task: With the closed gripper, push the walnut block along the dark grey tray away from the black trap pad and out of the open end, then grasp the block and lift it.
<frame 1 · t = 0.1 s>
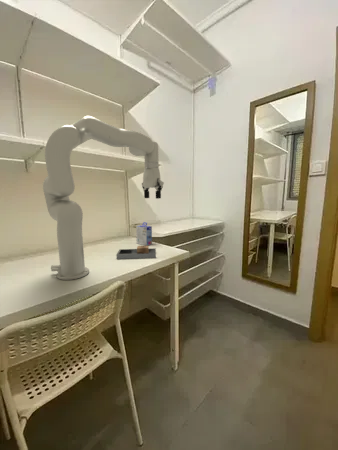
hand: (152, 198, 116), 31 cm above the table, tool pointing down, fingers open, 9 cm apart
dark grey tray: (137, 255, 116), on the table
walnut block: (143, 255, 116), resting in dark grey tray
ink cartridge box: (144, 244, 141), on the table
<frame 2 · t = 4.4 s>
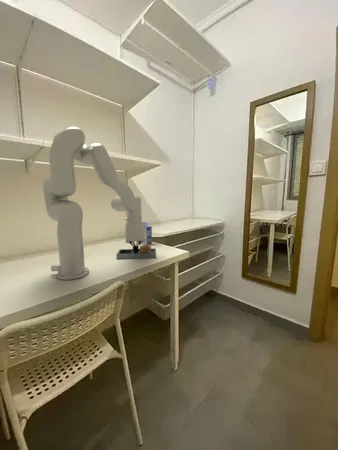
hand: (135, 252, 115), 2 cm above the table, tool pointing down, fingers closed
walnut block: (145, 255, 116), resting in dark grey tray
everything else where it was.
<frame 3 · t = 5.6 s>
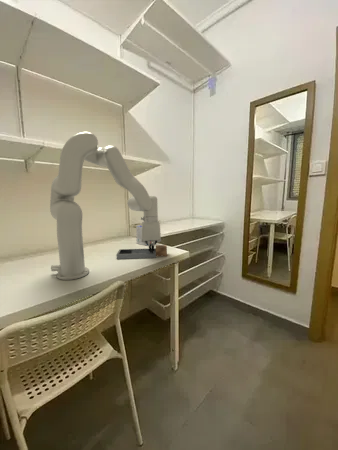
hand: (151, 252, 116), 2 cm above the table, tool pointing down, fingers closed
walnut block: (161, 255, 116), on the table, touching gripper
everything else where it was.
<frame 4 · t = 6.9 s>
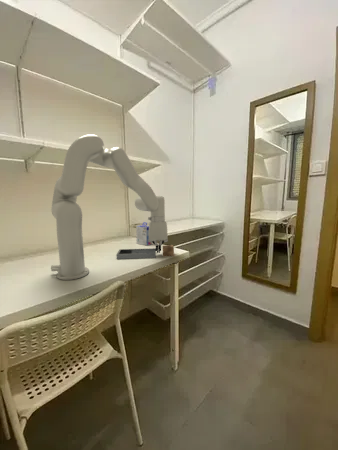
hand: (158, 252, 116), 2 cm above the table, tool pointing down, fingers closed
walnut block: (168, 255, 117), on the table
everything else where it was.
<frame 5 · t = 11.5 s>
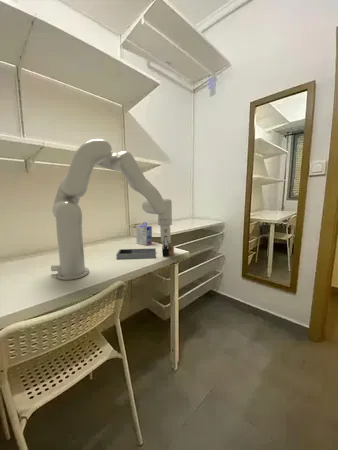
hand: (165, 254, 117), 0 cm above the table, tool pointing down, fingers closed on walnut block, 5 cm apart
walnut block: (168, 255, 117), on the table, touching gripper
everything else where it was.
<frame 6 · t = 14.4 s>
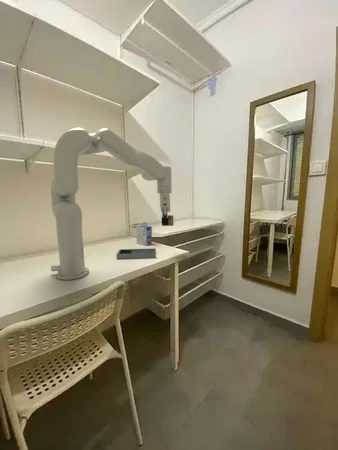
hand: (164, 224, 114), 17 cm above the table, tool pointing down, fingers closed on walnut block, 5 cm apart
walnut block: (167, 225, 114), point 17 cm above the table, touching gripper
everything else where it was.
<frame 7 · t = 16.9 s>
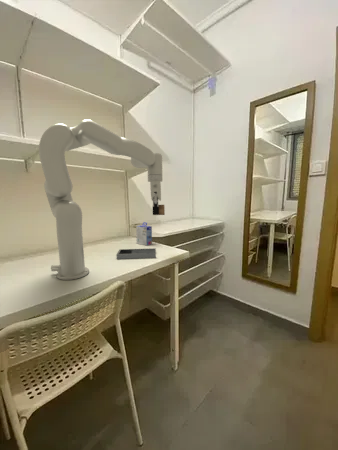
hand: (155, 213, 111), 23 cm above the table, tool pointing down, fingers closed on walnut block, 5 cm apart
walnut block: (158, 214, 111), point 23 cm above the table, touching gripper
everything else where it was.
at the end: the gripper is holding walnut block; walnut block inside the target area (2.5 cm from its centre), point 22.8 cm above the table; walnut block touching gripper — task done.
